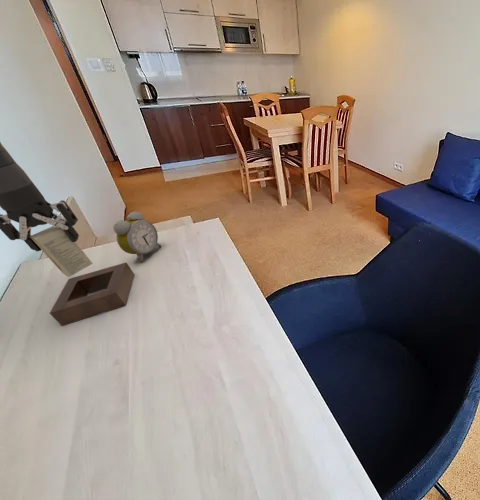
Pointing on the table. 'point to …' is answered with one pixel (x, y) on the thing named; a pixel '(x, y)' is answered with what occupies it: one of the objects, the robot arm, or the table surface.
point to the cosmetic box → (61, 250)
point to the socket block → (82, 306)
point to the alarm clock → (136, 235)
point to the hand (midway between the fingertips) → (58, 244)
